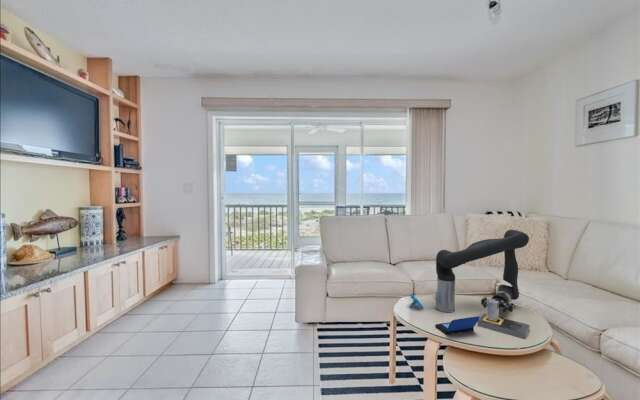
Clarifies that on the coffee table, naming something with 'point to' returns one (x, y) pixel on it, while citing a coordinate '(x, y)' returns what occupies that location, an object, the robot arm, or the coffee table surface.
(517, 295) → the robot arm
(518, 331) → the plate with square holes
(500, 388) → the coffee table surface
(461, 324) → the handheld game console
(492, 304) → the brushed steel peg
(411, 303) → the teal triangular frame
